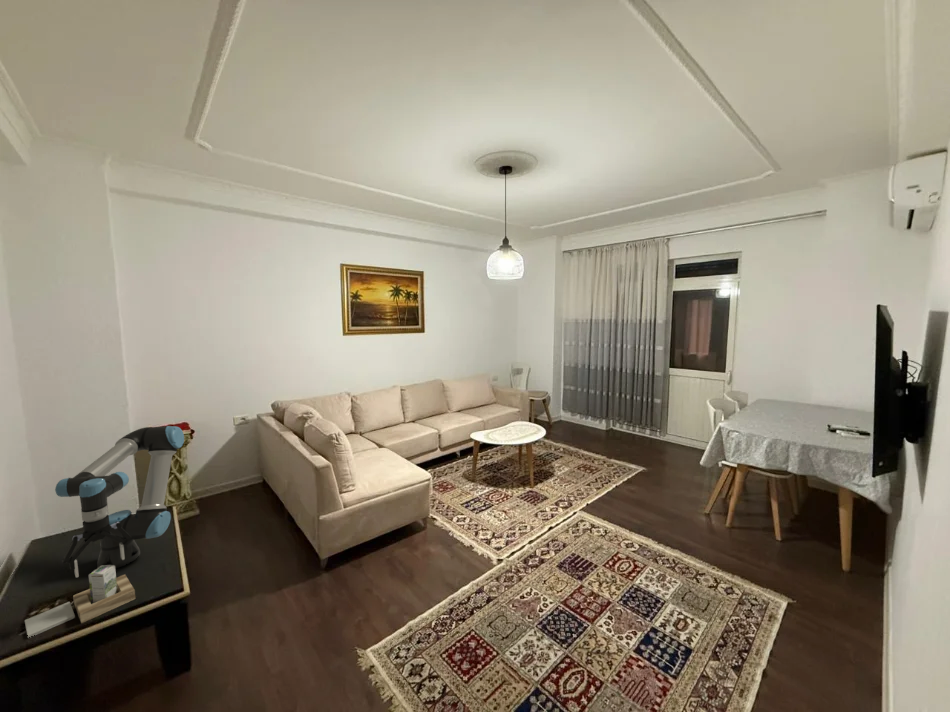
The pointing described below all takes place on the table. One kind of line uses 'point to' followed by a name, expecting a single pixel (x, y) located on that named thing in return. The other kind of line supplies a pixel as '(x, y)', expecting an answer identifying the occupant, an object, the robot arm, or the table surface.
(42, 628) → the mat
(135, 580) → the table surface
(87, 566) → the table surface
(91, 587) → the syrup box
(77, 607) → the socket block
